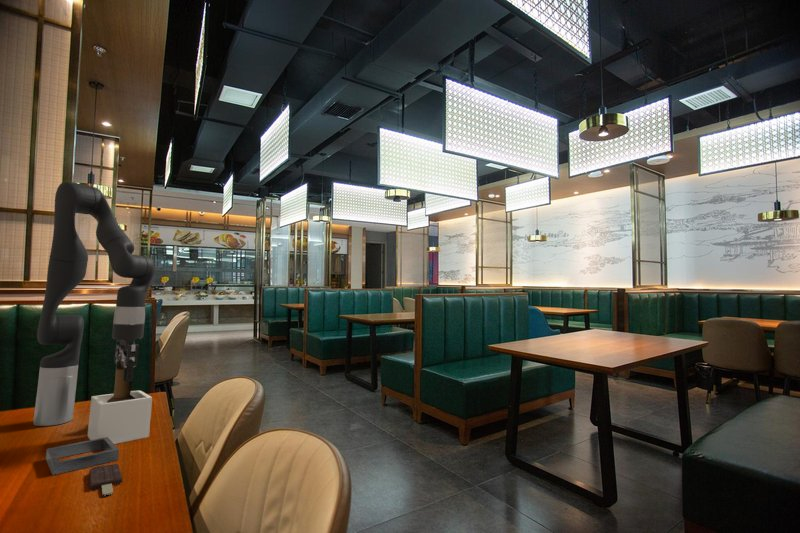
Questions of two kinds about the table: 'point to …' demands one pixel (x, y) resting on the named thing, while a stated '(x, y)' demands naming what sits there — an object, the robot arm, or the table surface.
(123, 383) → the mortar and pestle
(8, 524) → the table surface
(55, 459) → the low collar
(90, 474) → the ice cream bar
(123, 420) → the box
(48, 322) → the robot arm
